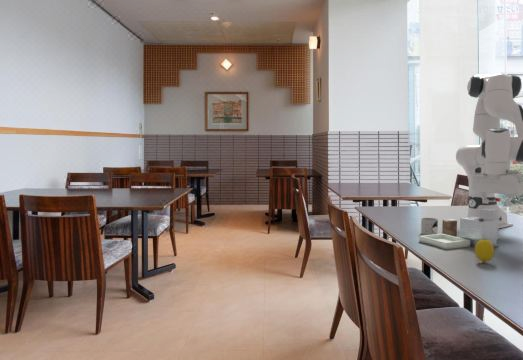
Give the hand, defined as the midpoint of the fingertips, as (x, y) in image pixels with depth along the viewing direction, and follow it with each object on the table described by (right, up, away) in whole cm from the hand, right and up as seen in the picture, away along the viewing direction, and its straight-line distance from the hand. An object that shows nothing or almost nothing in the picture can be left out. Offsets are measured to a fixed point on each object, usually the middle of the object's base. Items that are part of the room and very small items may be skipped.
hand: (495, 204), depth 166 cm
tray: (-21, -15, -1) cm, 26 cm away
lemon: (-20, -18, -28) cm, 38 cm away
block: (-12, -14, +13) cm, 23 cm away
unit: (-8, -15, -2) cm, 18 cm away
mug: (-18, -14, +21) cm, 31 cm away
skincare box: (+2, -15, +9) cm, 18 cm away
